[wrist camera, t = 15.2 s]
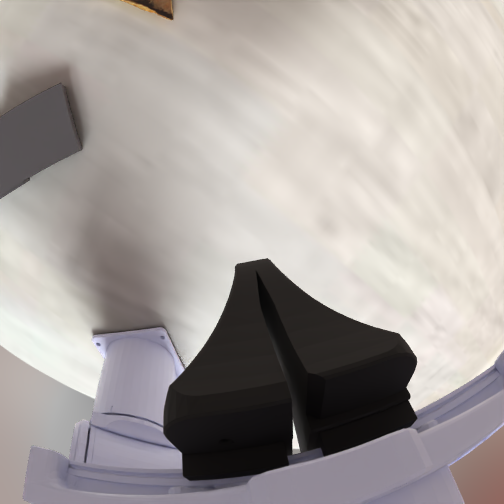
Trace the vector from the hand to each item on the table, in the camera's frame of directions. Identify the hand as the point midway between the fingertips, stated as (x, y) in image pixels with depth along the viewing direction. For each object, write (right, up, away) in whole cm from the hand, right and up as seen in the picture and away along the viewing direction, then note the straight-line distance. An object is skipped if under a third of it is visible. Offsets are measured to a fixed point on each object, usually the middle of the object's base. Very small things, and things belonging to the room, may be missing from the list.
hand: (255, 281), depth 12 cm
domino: (-12, +10, +2) cm, 16 cm away
